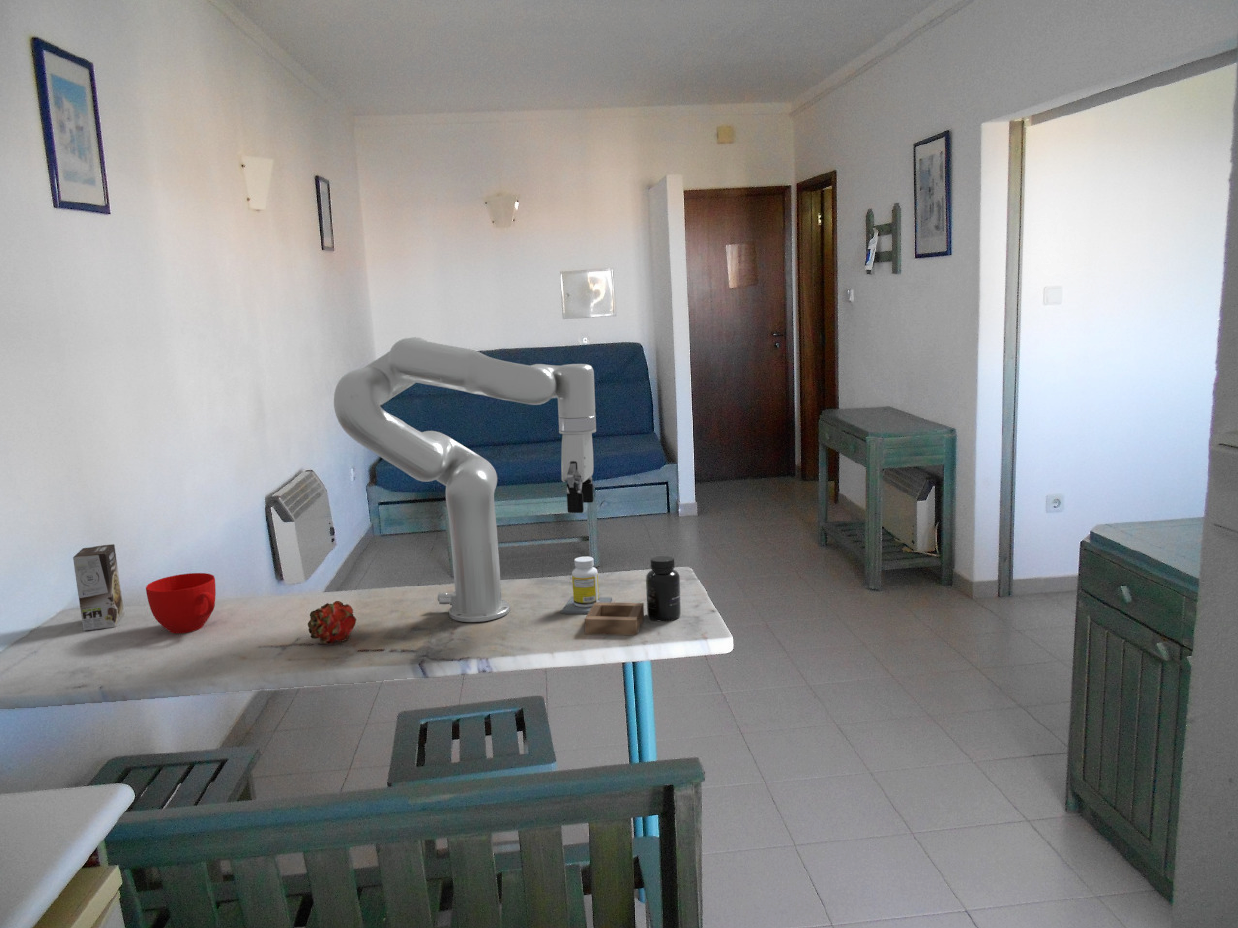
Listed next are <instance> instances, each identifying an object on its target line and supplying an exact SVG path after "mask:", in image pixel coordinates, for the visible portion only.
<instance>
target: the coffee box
mask: <svg viewBox="0 0 1238 928" xmlns="http://www.w3.org/2000/svg"><path fill="white" fill-rule="evenodd" d="M115 547H116V546H115V544H114V543H113V544H104V545H97V546H90V547H83V548H81V550H79V551H77V553H76V554H75V555H74V556H73V557H72V559H73V566H74V573H75V574H74V575H75V581H76V589H77V596H78V601H79V608H80V615H81V621H82V622H81V623H82V630H83V632H84V631H85V632H86V631H92V630H99V629H109V628H115V627H117V626H118V624H119V622H121V620H122V618H123V617H124V615H125V610H124V609H125V608H124V602H123V601H124V600H123V596H122V590H121V581H120V575H119V568H118V567H119V566H118V561H117V554H116V548H115Z"/></svg>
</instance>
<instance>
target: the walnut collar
mask: <svg viewBox="0 0 1238 928" xmlns="http://www.w3.org/2000/svg"><path fill="white" fill-rule="evenodd" d="M644 606H645V604H644V603H643V602H611V603H602V602H595V603H594V605H593V606H592V608H591V609H590V611H589V613H588V614H587V615H586V616H585V617H584V633H585V635H611V636H612V635H614V636H615V635H616V636H617V635H619V636H620V635H621V636H637V634H638V632H639V630H640V627H641V625H642V623H643V620H644V618H645V607H644Z"/></svg>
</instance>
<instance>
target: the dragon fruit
mask: <svg viewBox="0 0 1238 928" xmlns="http://www.w3.org/2000/svg"><path fill="white" fill-rule="evenodd" d="M309 617H310V618H309V619H310V620H308V623H307V626H308V629H307V630H308V632H309V634H311V635H310V638H311V639H312V640H313V639H314V640H319V641H320V643H322V644H325V645H327V646H331V645H332V644H334V642H335V641H338V642H347V641H348V640H349V637H351V636H350V634H351V633H352V631H353V630H354V627H355V626H356V623H357V618H356V617H355V616H354V609H353V608H352V606H351V605H350V604H344V603H343V602H342V601H340V600H335V601H334V602H333V603H329V602H328V603H327V602H326V603H325V604H324V605H322V606H320V607H319V608H316V609H315V610H312V611H311V612H309Z"/></svg>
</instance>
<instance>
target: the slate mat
mask: <svg viewBox="0 0 1238 928" xmlns="http://www.w3.org/2000/svg"><path fill="white" fill-rule="evenodd" d="M612 601H613V597H609V596H607V597H605V596H603V597H602V596H601V597H600V596H599V602H602V603H612ZM591 608H592V607H578V606H576V605H575V604H574V598H573V596H570V597H569V598H568V601H566V604H565V605H564V606H563V608H561V609H560V610H561V614H565V615H566V614H569V615H571V614H572V615H573V614H575V615H576V614H577V615H578V614H579V615H586V614H588V613H589V611H590V609H591Z"/></svg>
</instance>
